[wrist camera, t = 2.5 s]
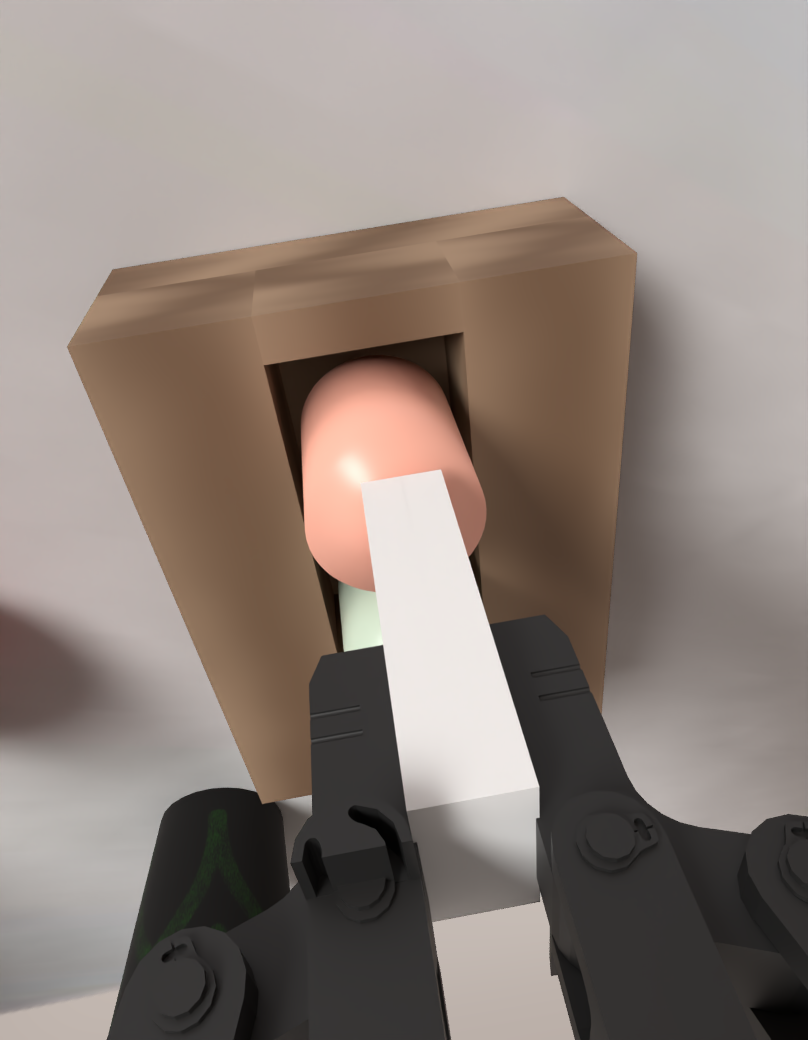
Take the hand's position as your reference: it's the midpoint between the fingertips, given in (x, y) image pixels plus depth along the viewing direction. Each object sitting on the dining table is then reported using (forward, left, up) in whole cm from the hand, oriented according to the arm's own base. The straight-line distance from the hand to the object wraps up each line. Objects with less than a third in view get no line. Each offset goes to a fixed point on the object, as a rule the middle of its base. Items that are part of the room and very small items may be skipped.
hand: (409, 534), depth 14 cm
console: (0, -5, -9) cm, 10 cm away
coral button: (0, 0, -4) cm, 4 cm away
